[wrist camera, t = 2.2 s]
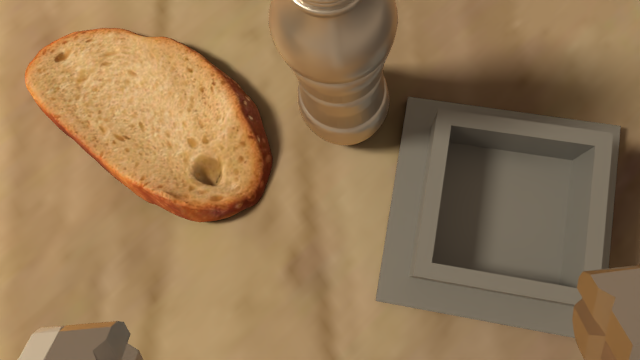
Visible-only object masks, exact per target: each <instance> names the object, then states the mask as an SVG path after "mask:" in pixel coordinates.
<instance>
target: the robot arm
mask: <svg viewBox="0 0 640 360" xmlns="http://www.w3.org/2000/svg"><path fill="white" fill-rule="evenodd" d="M577 289H578V291H579V293H580V294H581V296H582V299H581V300H580V301H579V302H578V303H576V304H575V305H574V309H573V317H572V322H573V329H574V336H575V339H576V342H577V345H578V348H579V350H580V352H581V354H582V356H583V358H584V360H640V265H633V266H625V267H616V268H608V269H599V270H590V271H583V272H582V273H581V275H580V276H579V279H578V284H577ZM129 337H130V332H129V331H128V329H127V327H126V325H125V324H124V322H119V321H113V322H101V323H88V324H76V325H66V326H56V327H44V328H39V329H38V330H37V331H35V332H34V333H33V334H32V335H31V337H30V339H29V341H28V342H27V344H26V346H25V348H24V350H23V351H22V353H21V355H20V357H19V358H18V360H143V358H142V356H141V354H140V352H139V350H138V349H136V348H134V347H133V346H131V345H129V344H128V343H127V342H128V340H129Z"/></svg>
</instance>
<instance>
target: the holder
mask: <svg viewBox="0 0 640 360" xmlns="http://www.w3.org/2000/svg"><path fill="white" fill-rule="evenodd" d="M620 128H621V126H617V125H610V124H603V123H595V122H588V121H581V120H574V119H566V118H559V117H552V116H545V115H537V114H530V113H523V112H516V111H509V110H501V109H494V108H487V107H480V106H472V105H465V104H458V103H451V102H443V101H436V100H429V99H422V98H414V97H408V100H407V106H406V112H405V119H404V125H403V131H402V138H401V144H400V150H399V156H398V163H397V169H396V175H395V182H394V188H393V194H392V201H391V207H390V213H389V219H388V226H387V232H386V238H385V245H384V251H383V257H382V264H381V270H380V276H379V282H378V289H377V295H376V301H380V302H385V303H390V304H396V305H401V306H406V307H412V308H417V309H422V310H428V311H433V312H439V313H444V314H449V315H455V316H460V317H465V318H471V319H476V320H481V321H487V322H492V323H497V324H503V325H508V326H514V327H519V328H524V329H530V330H535V331H540V332H546V333H551V334H556V335H562V336H567V337H573V338H575V336H574V329H573V322H572V317H573V309H574V305H575V304H576V303H578V302H579V301H580V300H581V299H582V296H581V294H580V293H579V291H578V289H577V284H578V279H579V276H580V275H581V273H582V272H583V271H590V270H599V269H608V268H609V258H610V246H611V234H612V222H613V211H614V199H615V187H616V175H617V163H618V151H619V140H620Z"/></svg>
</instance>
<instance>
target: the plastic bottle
mask: <svg viewBox="0 0 640 360" xmlns="http://www.w3.org/2000/svg"><path fill="white" fill-rule="evenodd" d="M397 24H398V15H397V7H396V3H395V0H271V4H270V9H269V28H270V33H271V37H272V39H273V42H274V44H275V46H276V48H277V50H278V52H279V53H280V55H281V56H282V58H283V59H284V61H285V62H286V63H287V64H288V66H289V67H290V68H291V69H292V71H293V72H294V73H295V75H296V77H297V79H298V82H299V85H298V105H299V111H300V113H301V116H302V118H303V120H304V122H305V123H306V125H307V126H308V127H309V128H310V129H311V130H312V131H313V132H314V133H315V134H316V135H318V136H319V137H321V138H322V139H324V140H325V141H328V142H330V143H333V144H337V145H353V144H357V143H360V142H363V141H365V140H366V139H368V138H370V137H371V136H372V135H373V134H374V133H375V132H376V131H377V130H378V129H379V128H380V126H381V125H382V123H383V122H384V121H385V118H386V116H387V113H388V109H389V104H390V102H389V91H388V87H387V83H386V80H385V77H384V75H383V66H384V63H385V60H386V58H387V56H388V54H389V52H390V50H391V47H392V45H393V42H394V38H395V35H396V29H397Z"/></svg>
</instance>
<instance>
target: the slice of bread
mask: <svg viewBox="0 0 640 360" xmlns="http://www.w3.org/2000/svg"><path fill="white" fill-rule="evenodd" d="M25 82H26V87H27V89H28V90H29V92H30V93H31V95H32V97H33V98H34V100H35V102H36V103H37V105H38V106H39V107H40V109H41V110H42V111H43V112H44V113H45V114H46V115H47V116H48V117H49V118H50V119H51V120H52V121H53V122H54V123H55V124H56V125H57V126H58V127H59V128H60V129H61V130H62V131H63V132H64V133H65V134H66V135H68V136H69V137H71V138H72V139H73V140H75V141H76V142H77V143H78V144H79V145H80V146H81V147H82V148H83V149H84V150H85V151H86V152H87V153H88V154H89V155H90V156H92V157H93V158H94V159H95V160H96V161H97V162H98V163H99V164H100V165H101V166H102V167H103V168H104V169H106V170H107V171H108V172H109V173H110V174H111V175H112V176H114V177H115V178H116V179H117V180H119V181H120V182H121V183H123V184H124V185H125V186H126V187H128V188H129V189H131V190H132V191H133V192H134V193H135V194H136V195H138V196H139V197H141V198H142V199H144V200H146V201H147V202H149V203H152V204H156V205H158V206H160V207H162V208H163V209H165V210H167V211H169V212H171V213H173V214H175V215H178V216H180V217H183V218H185V219H188V220H192V221H196V222H206V221H215V220H220V219H224V218H228V217H231V216H233V215H235V214H237V213H239V212H241V211H242V210H245V209H247V208H249V207H251V206H254V205H255V204H256V203H257V202H258V201H259V200H260V198H261V197H262V195H263V193H264V190H265V187H266V184H267V181H268V178H269V175H270V172H271V168H272V162H273V158H272V154H271V151H270V147H269V143H268V140H267V137H266V134H265V130H264V127H263V124H262V119H261V117H260V114H259V111H258V109H257V107H256V105H255V103H254V102H253V101H252V100H251V99H250V97H249V96H248V95H247V94H246V93H245V92H244V91H243V90H242V88H241V87H240V86H239V84H238V83H237V82H235V81H234V80H233V79H231V78H230V77H229V76H228V75H227V74H225V73H224V72H223V71H221V70H220V69H218V68H217V67H216V66H214V65H213V64H212V63H210V62H209V61H208V60H207V59H206V58H205V57H204V56H203V55H201V54H200V53H198V52H196V51H195V50H193V49H191V48H190V47H188V46H186V45H184V44H182V43H179V42H177V41H175V40H173V39H171V38H167V37H146V36H142V35H138V34H136V33H133V32H131V31H128V30H125V29H118V28H100V29H94V30H86V31H79V32H73V33H71V34H69V35H66V36H64V37H62V38H60V39H58V40H56V41H54V42H52V43H51V44H49V45H48V46H45V47H44V48H42V49H41V50H40V51H39V52H38V54H37V55H36V56H35V58H34V59H33V60H32V61H31V62H30V63H29V65H28V67H27V69H26V73H25Z"/></svg>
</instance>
